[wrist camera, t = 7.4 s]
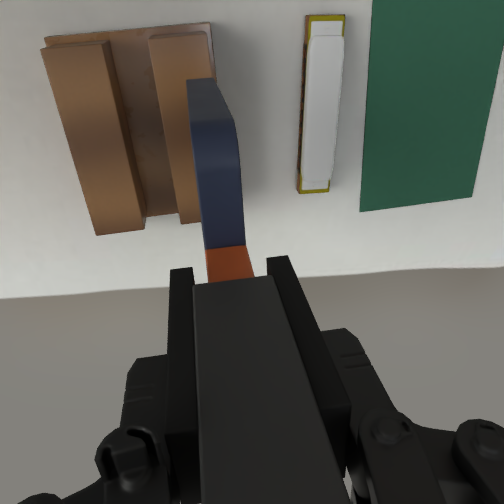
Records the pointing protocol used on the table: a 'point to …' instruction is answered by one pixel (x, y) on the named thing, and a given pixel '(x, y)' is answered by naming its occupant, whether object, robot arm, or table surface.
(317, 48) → the harmonica
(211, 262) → the racket
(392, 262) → the table surface
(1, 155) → the table surface
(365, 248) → the table surface
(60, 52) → the stand
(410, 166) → the mat
